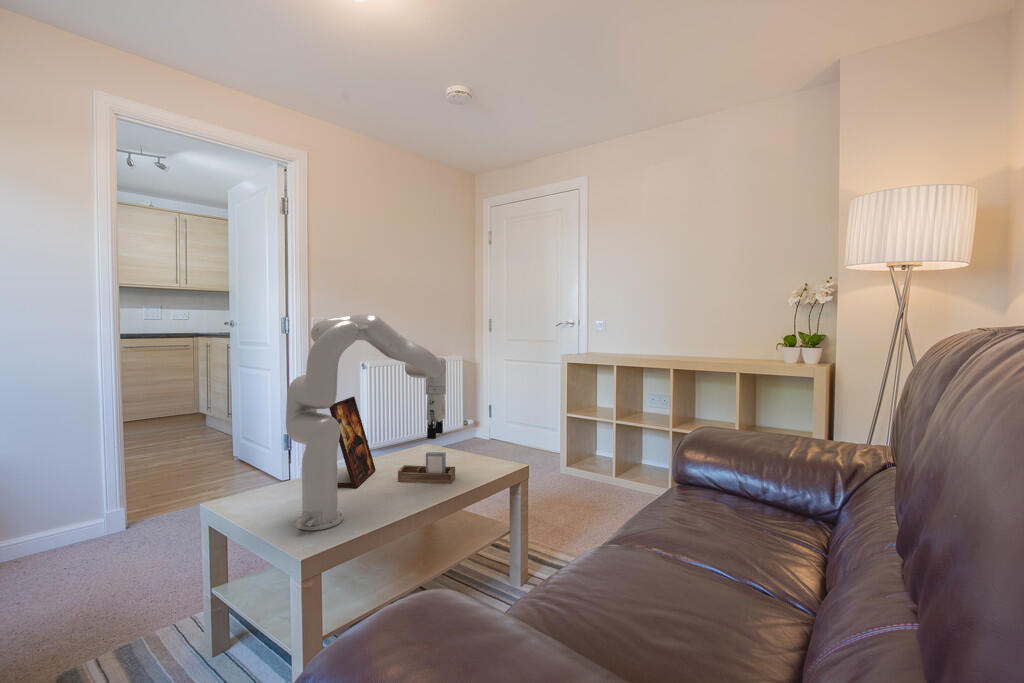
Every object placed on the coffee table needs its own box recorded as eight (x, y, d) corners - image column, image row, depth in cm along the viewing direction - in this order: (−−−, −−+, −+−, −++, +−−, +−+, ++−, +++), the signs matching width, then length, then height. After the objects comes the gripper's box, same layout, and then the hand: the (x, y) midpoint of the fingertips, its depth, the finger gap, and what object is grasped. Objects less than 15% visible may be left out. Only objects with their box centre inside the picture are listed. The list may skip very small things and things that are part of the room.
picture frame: (357, 488, 163) (356, 404, 163) (327, 488, 163) (326, 404, 163) (375, 471, 184) (375, 396, 184) (349, 470, 184) (349, 396, 184)
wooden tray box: (450, 483, 169) (450, 472, 168) (397, 481, 170) (397, 470, 170) (455, 477, 175) (455, 466, 175) (404, 476, 177) (404, 465, 177)
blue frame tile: (444, 478, 171) (444, 454, 171) (425, 477, 172) (425, 453, 172) (445, 476, 173) (445, 452, 173) (427, 475, 174) (427, 452, 174)
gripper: (439, 393, 163) (439, 441, 163) (450, 388, 180) (450, 431, 180) (418, 392, 164) (418, 440, 164) (432, 387, 181) (431, 431, 181)
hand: (435, 436), depth 172 cm, fingers open, 9 cm apart
